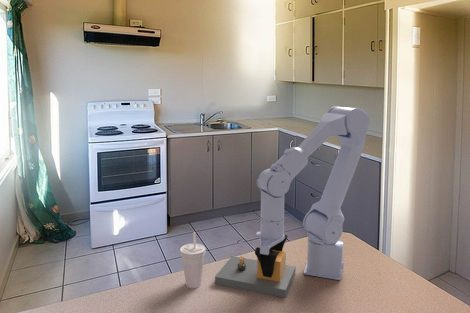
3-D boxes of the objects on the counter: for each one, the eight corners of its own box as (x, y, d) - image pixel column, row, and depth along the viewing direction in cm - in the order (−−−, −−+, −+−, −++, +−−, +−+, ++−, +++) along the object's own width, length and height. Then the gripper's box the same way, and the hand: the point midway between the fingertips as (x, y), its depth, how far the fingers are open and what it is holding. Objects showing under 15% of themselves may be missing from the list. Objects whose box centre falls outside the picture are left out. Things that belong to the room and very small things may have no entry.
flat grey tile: (295, 273, 98) (295, 255, 97) (285, 297, 87) (285, 277, 86) (231, 262, 104) (231, 245, 103) (215, 284, 93) (214, 264, 92)
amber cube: (285, 270, 95) (285, 251, 94) (280, 281, 90) (280, 262, 89) (263, 267, 97) (263, 248, 96) (257, 277, 92) (257, 258, 91)
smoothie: (202, 292, 89) (201, 238, 87) (177, 289, 90) (175, 236, 88) (209, 279, 95) (208, 228, 93) (185, 276, 97) (184, 226, 94)
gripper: (264, 207, 99) (264, 254, 102) (247, 226, 86) (247, 280, 88) (290, 210, 97) (289, 258, 99) (277, 230, 83) (276, 285, 86)
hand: (271, 269), depth 94 cm, fingers open, 7 cm apart
